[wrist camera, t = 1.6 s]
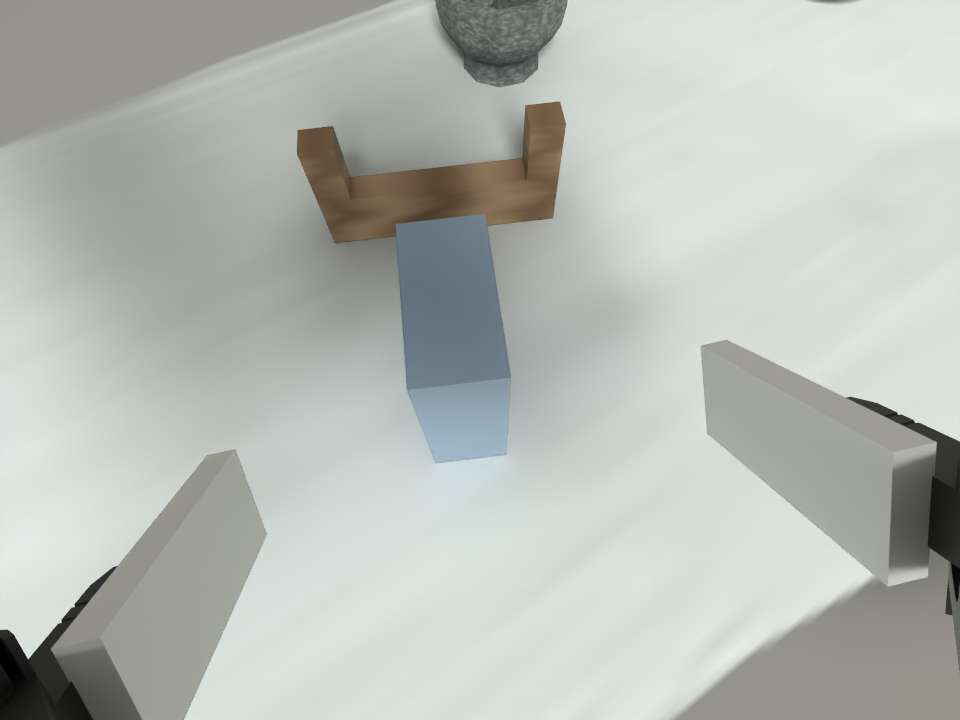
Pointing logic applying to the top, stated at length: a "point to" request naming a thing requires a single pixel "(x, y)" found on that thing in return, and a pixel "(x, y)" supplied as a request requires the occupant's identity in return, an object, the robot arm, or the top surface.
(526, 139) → the wooden drawer pull
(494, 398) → the slotted block
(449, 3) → the mortar and pestle
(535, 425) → the top surface
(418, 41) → the top surface
